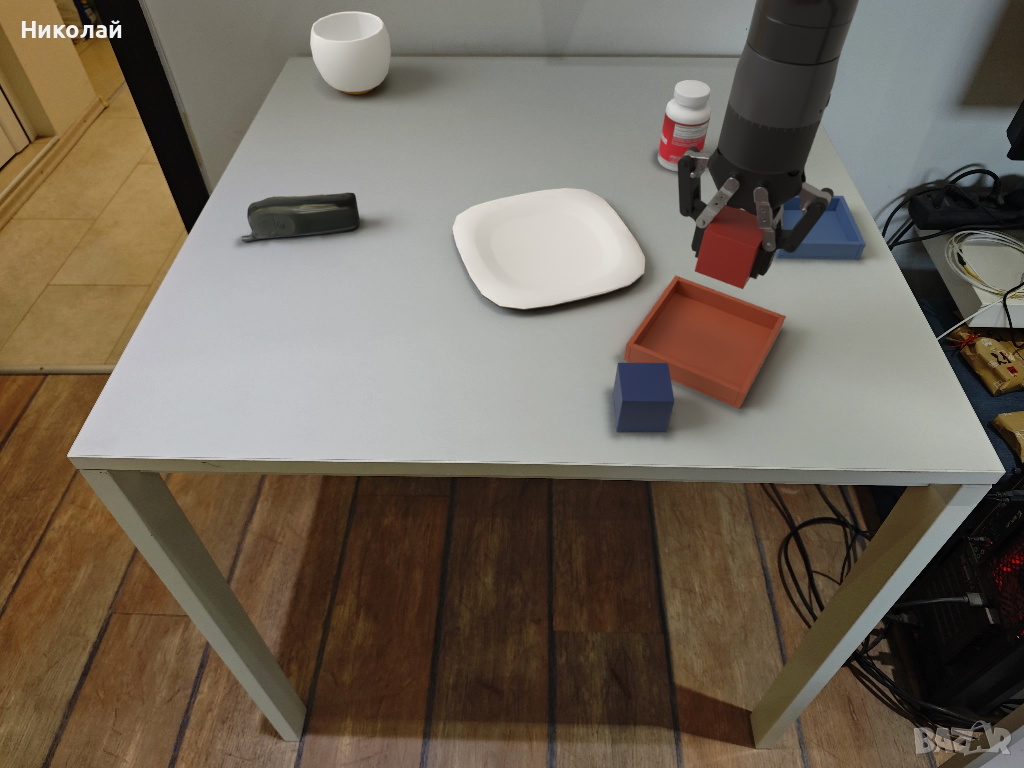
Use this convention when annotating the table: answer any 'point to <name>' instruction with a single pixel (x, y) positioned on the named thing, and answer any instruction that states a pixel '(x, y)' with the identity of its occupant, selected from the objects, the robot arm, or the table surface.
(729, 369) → the terracotta tray
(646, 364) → the navy block
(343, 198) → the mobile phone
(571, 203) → the plate
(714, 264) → the red block
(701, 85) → the pill bottle
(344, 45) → the cup
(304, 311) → the table surface
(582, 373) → the table surface
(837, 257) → the blue tray
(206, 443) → the table surface
